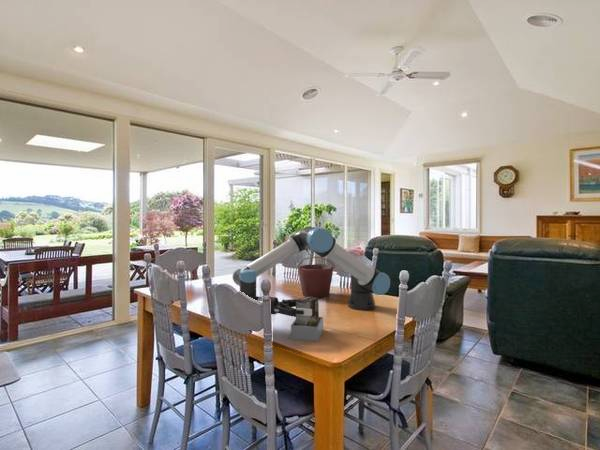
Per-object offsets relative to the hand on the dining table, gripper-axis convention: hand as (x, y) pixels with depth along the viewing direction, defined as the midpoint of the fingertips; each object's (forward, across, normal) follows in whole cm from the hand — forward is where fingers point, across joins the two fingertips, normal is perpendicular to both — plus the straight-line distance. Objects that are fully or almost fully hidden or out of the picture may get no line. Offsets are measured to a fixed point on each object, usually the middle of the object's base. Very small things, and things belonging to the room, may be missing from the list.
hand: (314, 308), depth 154 cm
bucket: (-12, -72, -12) cm, 74 cm away
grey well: (-3, 0, -12) cm, 12 cm away
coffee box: (-3, 0, -12) cm, 13 cm away
